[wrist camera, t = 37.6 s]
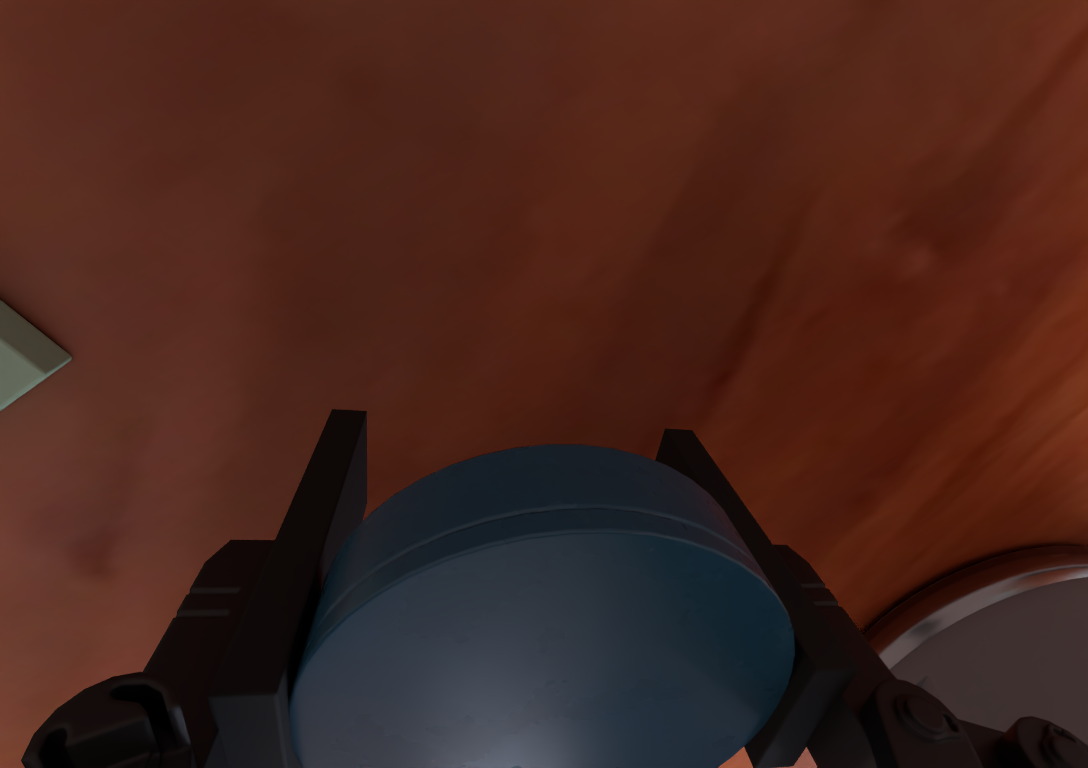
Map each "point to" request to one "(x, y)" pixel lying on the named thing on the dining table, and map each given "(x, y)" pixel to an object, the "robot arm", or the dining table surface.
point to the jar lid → (542, 623)
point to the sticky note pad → (24, 356)
